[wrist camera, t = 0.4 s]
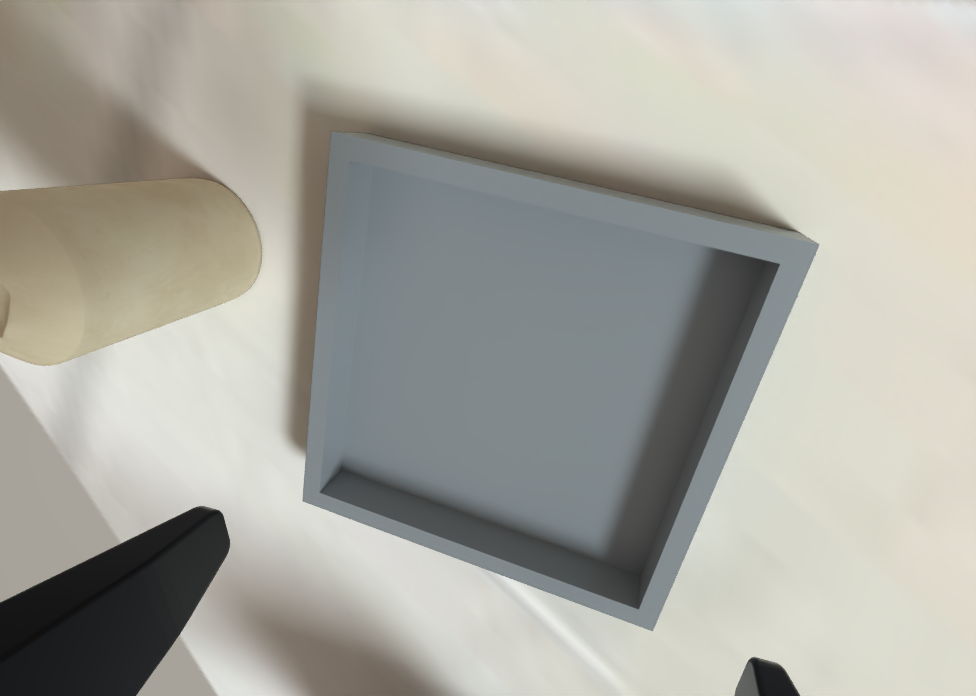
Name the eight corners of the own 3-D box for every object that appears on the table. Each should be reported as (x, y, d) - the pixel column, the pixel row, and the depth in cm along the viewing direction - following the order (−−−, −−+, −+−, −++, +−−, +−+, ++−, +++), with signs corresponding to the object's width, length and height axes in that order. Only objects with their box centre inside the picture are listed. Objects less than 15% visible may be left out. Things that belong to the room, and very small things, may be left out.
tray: (653, 586, 25) (652, 631, 22) (331, 472, 28) (302, 501, 25) (799, 232, 19) (819, 244, 16) (365, 132, 21) (330, 131, 19)
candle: (190, 149, 24) (-94, 151, 15) (285, 239, 24) (61, 296, 15) (142, 242, 26) (-128, 294, 17) (229, 323, 26) (6, 417, 17)
